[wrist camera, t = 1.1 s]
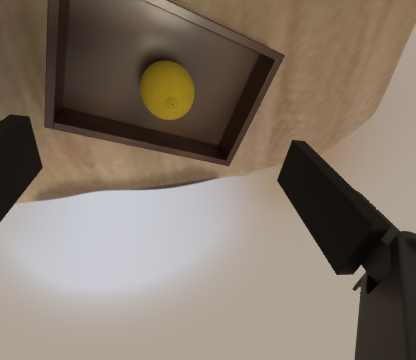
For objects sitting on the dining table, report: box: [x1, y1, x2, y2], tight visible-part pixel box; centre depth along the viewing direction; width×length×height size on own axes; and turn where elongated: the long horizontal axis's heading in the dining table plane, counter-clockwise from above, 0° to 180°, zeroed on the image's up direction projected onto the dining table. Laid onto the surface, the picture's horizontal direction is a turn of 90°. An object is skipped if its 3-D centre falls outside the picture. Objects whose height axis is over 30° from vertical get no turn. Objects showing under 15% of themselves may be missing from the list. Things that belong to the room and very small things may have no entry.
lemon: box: [140, 60, 194, 120], centre depth 25 cm, size 6×6×8 cm
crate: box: [44, 0, 285, 166], centre depth 27 cm, size 22×15×4 cm
